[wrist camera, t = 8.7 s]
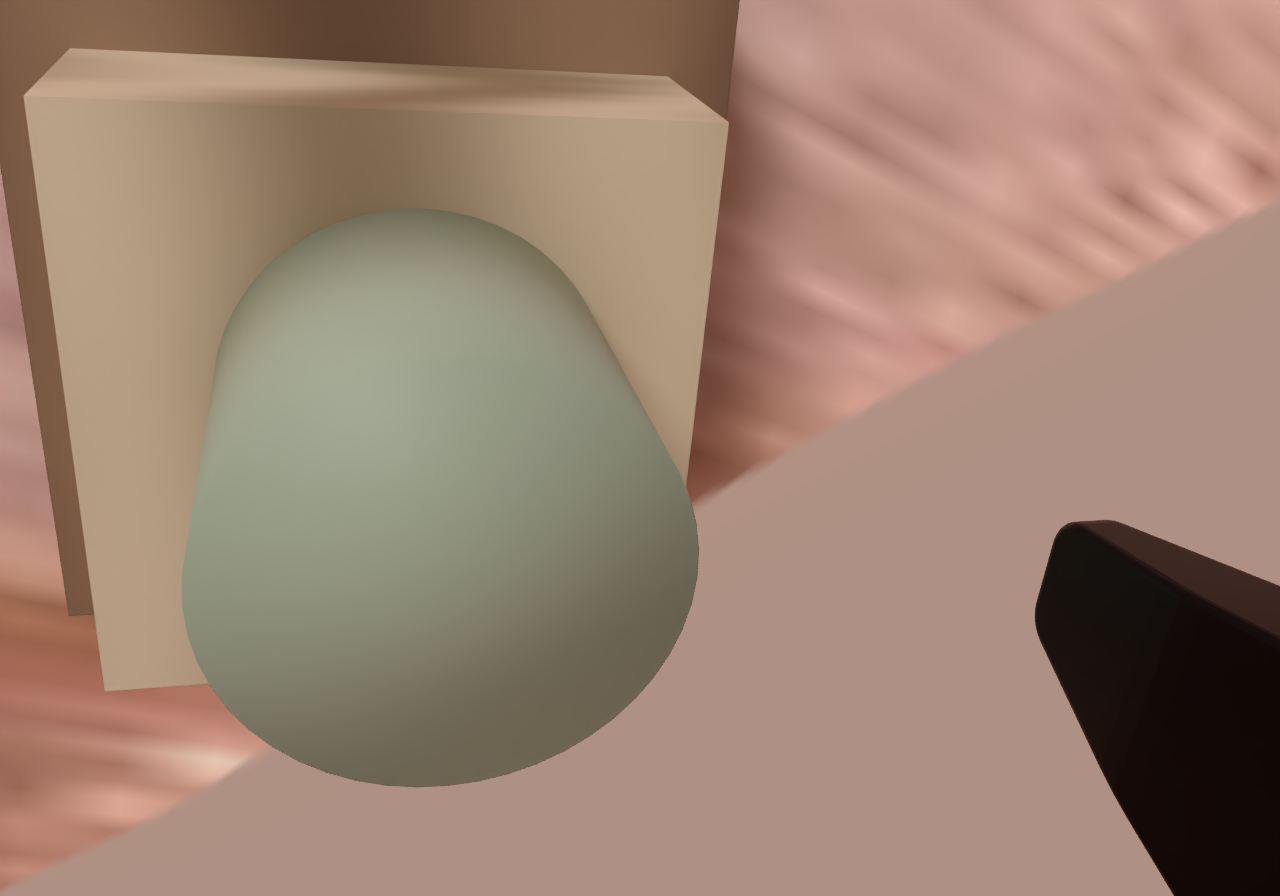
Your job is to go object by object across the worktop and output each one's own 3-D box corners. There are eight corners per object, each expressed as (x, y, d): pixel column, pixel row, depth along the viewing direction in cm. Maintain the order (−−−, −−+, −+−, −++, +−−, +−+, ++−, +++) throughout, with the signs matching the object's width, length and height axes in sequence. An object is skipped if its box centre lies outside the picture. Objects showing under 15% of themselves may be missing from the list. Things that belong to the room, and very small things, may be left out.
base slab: (684, -37, 20) (740, -13, 17) (634, 496, 24) (673, 577, 22) (15, -82, 17) (-35, -62, 15) (97, 520, 22) (69, 615, 19)
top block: (667, 76, 18) (729, 122, 15) (623, 547, 21) (666, 649, 19) (70, 47, 16) (23, 96, 13) (131, 572, 19) (104, 691, 17)
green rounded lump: (620, 213, 15) (728, 353, 11) (591, 552, 18) (672, 765, 14) (200, 204, 14) (159, 357, 10) (225, 569, 16) (200, 809, 12)
